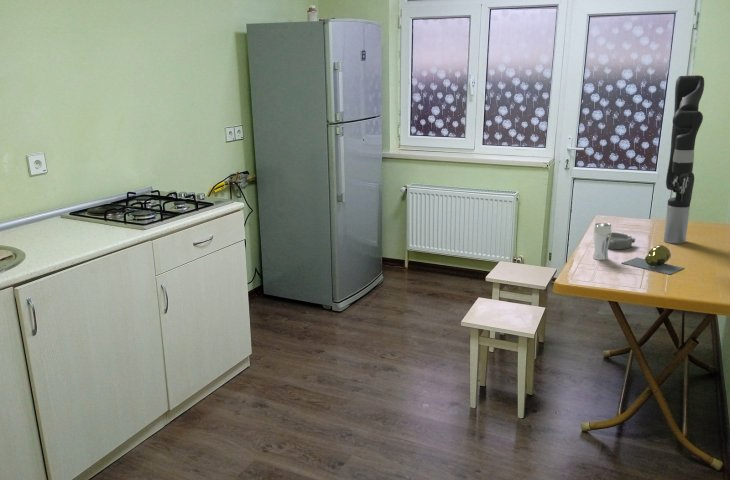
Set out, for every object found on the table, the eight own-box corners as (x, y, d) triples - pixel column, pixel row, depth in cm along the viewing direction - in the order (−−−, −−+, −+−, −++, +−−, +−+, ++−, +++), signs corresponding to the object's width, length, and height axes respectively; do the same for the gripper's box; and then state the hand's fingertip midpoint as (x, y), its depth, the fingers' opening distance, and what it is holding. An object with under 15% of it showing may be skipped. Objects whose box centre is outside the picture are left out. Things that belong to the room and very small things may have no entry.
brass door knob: (667, 264, 243) (654, 273, 238) (651, 255, 248) (638, 263, 243) (673, 250, 239) (661, 259, 234) (657, 241, 244) (644, 249, 238)
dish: (613, 251, 264) (614, 240, 262) (593, 244, 277) (594, 233, 275) (640, 248, 267) (641, 237, 266) (619, 241, 280) (620, 230, 279)
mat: (636, 258, 253) (636, 257, 253) (684, 268, 237) (684, 267, 237) (621, 263, 246) (621, 262, 246) (669, 274, 230) (669, 274, 230)
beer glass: (596, 255, 259) (598, 222, 255) (611, 258, 254) (614, 224, 250) (589, 258, 254) (591, 224, 250) (604, 261, 249) (607, 227, 245)
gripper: (681, 158, 247) (677, 198, 252) (666, 161, 239) (661, 203, 244) (700, 159, 241) (695, 201, 246) (684, 163, 234) (680, 205, 238)
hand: (678, 202), depth 245 cm, fingers closed
